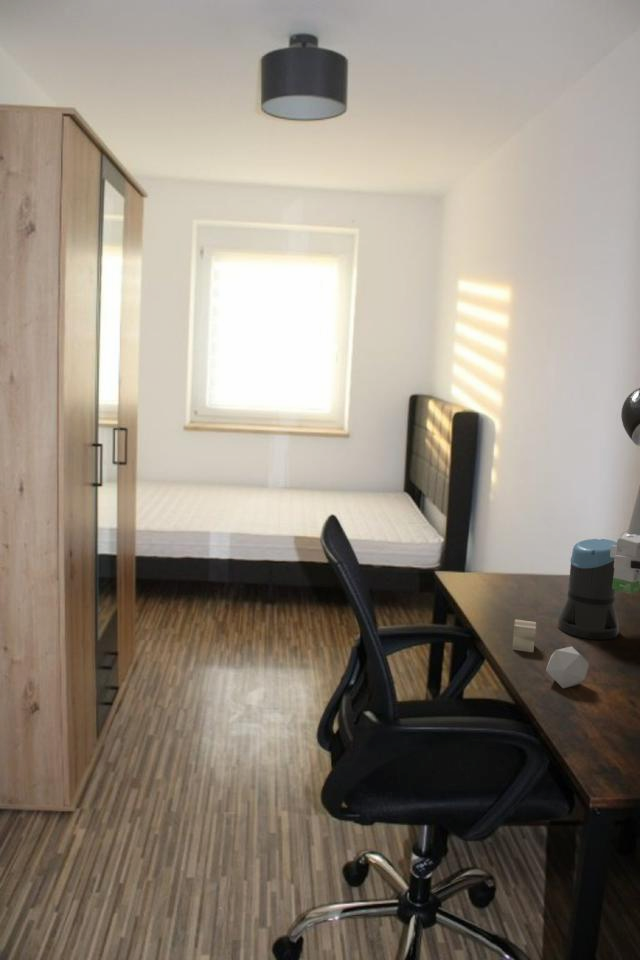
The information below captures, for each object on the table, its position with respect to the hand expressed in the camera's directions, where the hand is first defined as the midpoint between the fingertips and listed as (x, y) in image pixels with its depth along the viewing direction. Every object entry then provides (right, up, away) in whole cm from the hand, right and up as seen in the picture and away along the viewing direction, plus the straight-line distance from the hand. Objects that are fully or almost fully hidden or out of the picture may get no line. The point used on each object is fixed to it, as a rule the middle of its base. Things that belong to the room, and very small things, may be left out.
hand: (612, 556), depth 188 cm
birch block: (-17, -23, +13) cm, 32 cm away
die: (-13, -27, -8) cm, 31 cm away
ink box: (+4, -7, 0) cm, 8 cm away
